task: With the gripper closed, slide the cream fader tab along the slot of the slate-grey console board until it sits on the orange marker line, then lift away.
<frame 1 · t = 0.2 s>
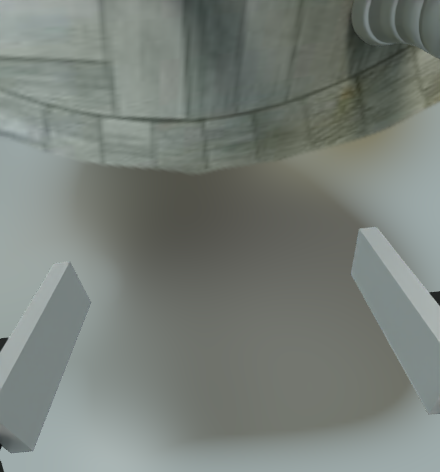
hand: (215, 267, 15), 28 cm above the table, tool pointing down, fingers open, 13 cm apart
plastic bottle: (376, 6, 32), on the table
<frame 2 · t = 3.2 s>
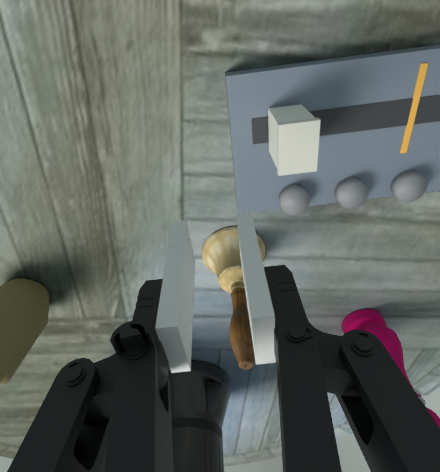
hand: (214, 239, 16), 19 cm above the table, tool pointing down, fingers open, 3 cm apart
console board: (347, 132, 32), on the table
fader tab: (290, 138, 27), point 5 cm above the table, slide at 0.0 cm
squeeze bottle: (28, 291, 44), on the table
pepper mill: (360, 320, 50), on the table
hand bell: (233, 251, 41), on the table
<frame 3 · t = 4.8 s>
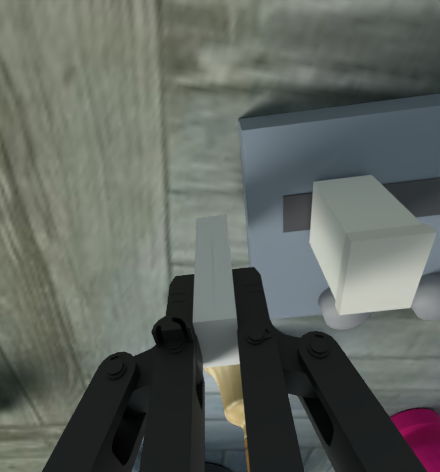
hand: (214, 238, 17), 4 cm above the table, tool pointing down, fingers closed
console board: (431, 206, 20), on the table
fader tab: (357, 239, 15), point 5 cm above the table, slide at 0.0 cm
pepper mill: (409, 418, 38), on the table
hand bell: (245, 351, 29), on the table
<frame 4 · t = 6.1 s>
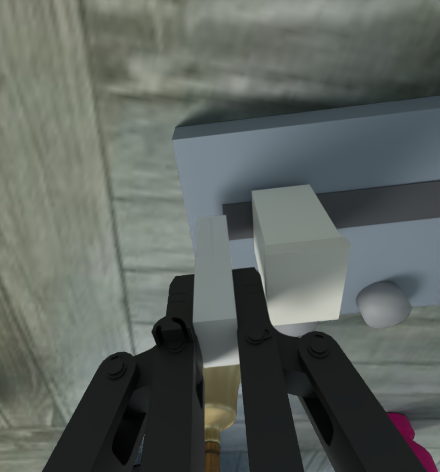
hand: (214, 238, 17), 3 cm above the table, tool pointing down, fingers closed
console board: (379, 214, 20), on the table
fader tab: (290, 249, 15), point 5 cm above the table, slide at 0.1 cm, touching gripper
pepper mill: (379, 422, 38), on the table
hand bell: (207, 356, 29), on the table
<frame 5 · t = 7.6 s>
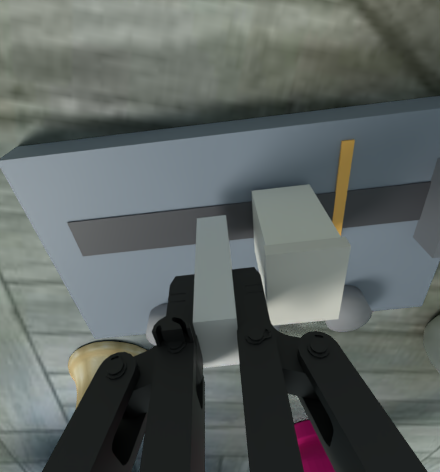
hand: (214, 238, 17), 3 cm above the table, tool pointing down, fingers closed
console board: (247, 229, 20), on the table
fader tab: (290, 249, 15), point 5 cm above the table, slide at 8.7 cm, touching gripper
pepper mill: (309, 429, 39), on the table
hand bell: (116, 365, 29), on the table
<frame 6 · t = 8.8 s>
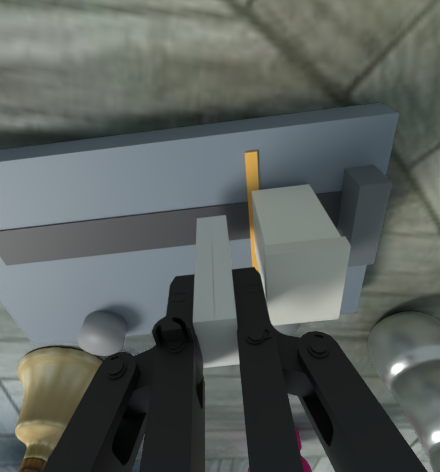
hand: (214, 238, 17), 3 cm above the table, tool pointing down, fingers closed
console board: (176, 237, 21), on the table
fader tab: (290, 249, 15), point 5 cm above the table, slide at 13.4 cm, touching gripper
plastic bottle: (396, 324, 27), on the table
hand bell: (68, 370, 29), on the table
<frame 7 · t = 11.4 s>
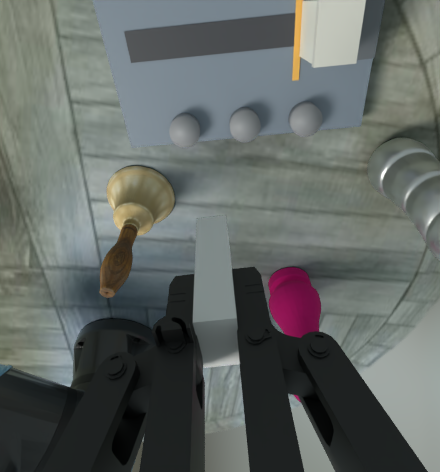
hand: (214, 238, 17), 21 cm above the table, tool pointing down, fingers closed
console board: (240, 58, 30), on the table
fader tab: (327, 30, 25), point 5 cm above the table, slide at 13.7 cm
plastic bottle: (388, 158, 37), on the table
pepper mill: (288, 280, 49), on the table
hand bell: (141, 195, 39), on the table
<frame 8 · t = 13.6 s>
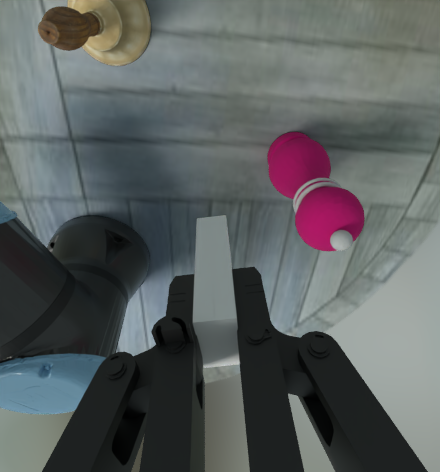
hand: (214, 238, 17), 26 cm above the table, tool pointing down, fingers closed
pepper mill: (290, 154, 42), on the table
hand bell: (110, 20, 33), on the table
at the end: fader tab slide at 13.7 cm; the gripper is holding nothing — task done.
